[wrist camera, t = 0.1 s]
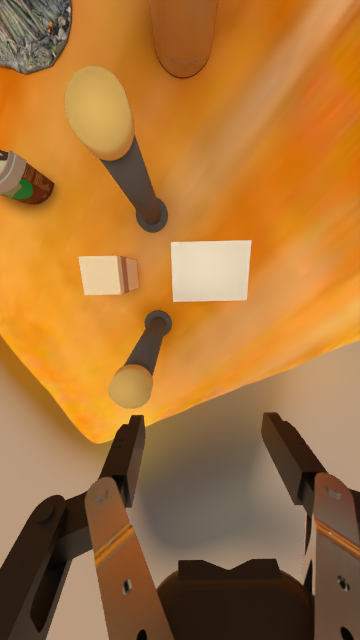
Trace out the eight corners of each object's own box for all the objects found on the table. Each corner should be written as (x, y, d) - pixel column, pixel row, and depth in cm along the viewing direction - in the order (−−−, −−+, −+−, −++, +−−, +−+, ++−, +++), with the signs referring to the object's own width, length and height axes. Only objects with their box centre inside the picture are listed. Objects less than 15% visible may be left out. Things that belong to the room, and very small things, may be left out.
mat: (171, 242, 36) (170, 242, 35) (250, 240, 36) (251, 240, 35) (173, 301, 39) (172, 301, 38) (245, 299, 39) (246, 300, 38)
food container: (-7, 198, 34) (-82, 169, 24) (-6, 161, 32) (-86, 114, 23) (57, 220, 35) (10, 201, 25) (62, 186, 33) (13, 151, 24)
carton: (110, 260, 37) (77, 256, 25) (137, 260, 37) (117, 255, 25) (113, 288, 38) (84, 295, 27) (139, 287, 38) (121, 294, 27)
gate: (135, 198, 34) (41, 47, 11) (166, 197, 34) (137, 44, 11) (146, 335, 41) (103, 416, 18) (172, 335, 41) (161, 415, 18)
